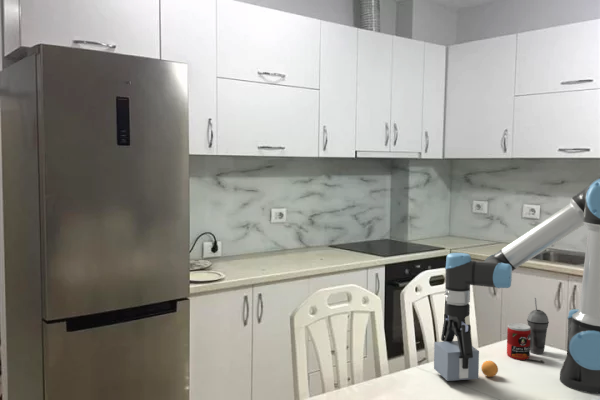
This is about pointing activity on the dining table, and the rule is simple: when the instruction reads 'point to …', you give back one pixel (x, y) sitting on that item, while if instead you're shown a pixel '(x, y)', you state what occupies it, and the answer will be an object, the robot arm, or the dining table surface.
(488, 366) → the ball
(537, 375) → the dining table surface
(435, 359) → the slate blue cube
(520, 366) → the dining table surface
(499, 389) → the dining table surface
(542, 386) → the dining table surface
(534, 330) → the beverage cup
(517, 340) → the canned food
